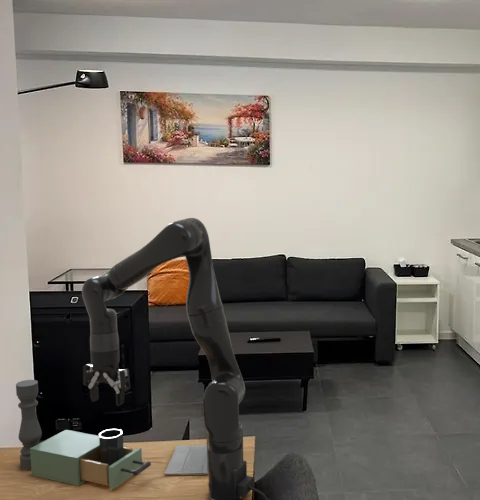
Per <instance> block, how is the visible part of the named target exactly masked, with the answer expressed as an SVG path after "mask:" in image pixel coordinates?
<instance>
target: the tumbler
mask: <svg viewBox="0 0 480 500" xmlns="http://www.w3.org/2000/svg"><path fill="white" fill-rule="evenodd" d="M98 436H99V450H100V463H105V464H108V470H109V466H110V465H112V464H114V463H115V462H117V461H118V460H120V459H121V458H123V457H124V450H123V447H124V433H123V430H122V429H118V428H109V429H105V430H102V431H101V432H99V433H98Z"/></svg>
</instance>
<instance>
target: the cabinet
mask: <svg viewBox="0 0 480 500" xmlns="http://www.w3.org/2000/svg"><path fill="white" fill-rule="evenodd" d="M98 448H99V435H96V434H92V433H85V432H80V431H76V430H70V429H64V430H63V431H61V432H59V433H57V434H55V435H53V436H51V437H49V438H47V439H45V440H43V441H42V442H39V443H38V445H36V446H34V447H32V448H30V455H31V470H30V471H31V476H32V477H38V478H42V479H47V480H51V481H55V482H59V483H64V484H68V485H71V486H72V485H73V486H77V487H79V486H81V485H82V484H84V483H85V482H87V481H86V480H81V479H80V467H79V459H81V458H83V457H85V456H86V455H88V454H90V453H91V452H93V451H95V450H96V449H98Z"/></svg>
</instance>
